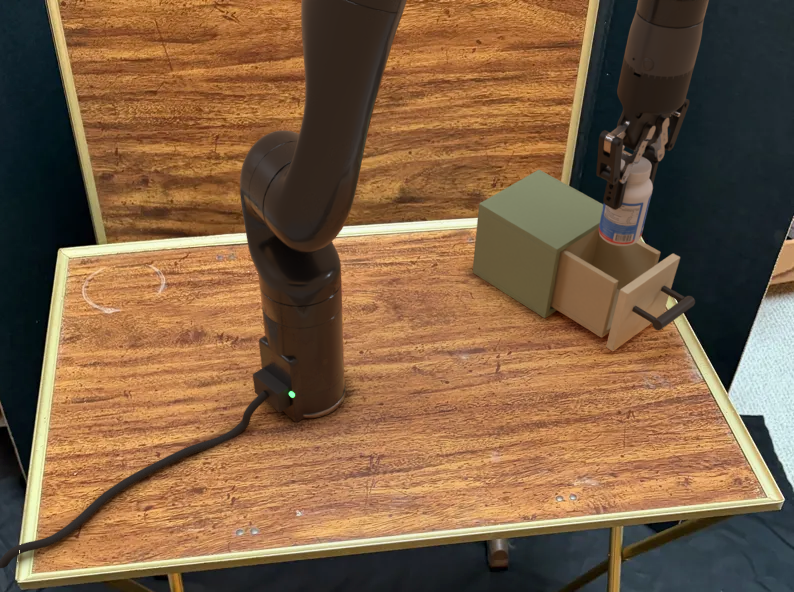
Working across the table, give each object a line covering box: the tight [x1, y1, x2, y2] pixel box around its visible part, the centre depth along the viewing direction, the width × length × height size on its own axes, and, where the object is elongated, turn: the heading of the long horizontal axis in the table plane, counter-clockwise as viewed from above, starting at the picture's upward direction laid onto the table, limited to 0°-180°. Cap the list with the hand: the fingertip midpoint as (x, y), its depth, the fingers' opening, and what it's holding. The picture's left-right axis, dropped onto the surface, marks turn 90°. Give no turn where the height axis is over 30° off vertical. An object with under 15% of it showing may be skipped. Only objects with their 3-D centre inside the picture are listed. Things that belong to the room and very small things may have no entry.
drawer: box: [550, 228, 696, 352], centre depth 127 cm, size 17×11×9 cm, turn 44°
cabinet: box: [472, 169, 604, 319], centre depth 133 cm, size 14×12×11 cm
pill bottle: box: [599, 157, 654, 246], centre depth 118 cm, size 6×5×10 cm
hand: (627, 195), depth 118 cm, fingers closed on pill bottle, 5 cm apart
